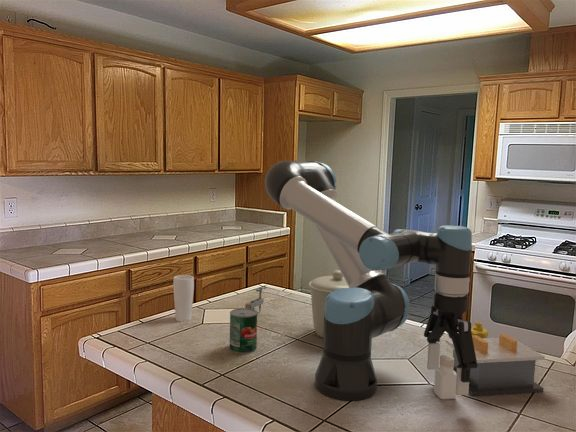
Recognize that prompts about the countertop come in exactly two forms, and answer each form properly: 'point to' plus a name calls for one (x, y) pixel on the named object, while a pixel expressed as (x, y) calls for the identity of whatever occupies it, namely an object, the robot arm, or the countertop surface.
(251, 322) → the canned tomato
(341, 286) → the canister
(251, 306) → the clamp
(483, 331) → the pressure relief valve
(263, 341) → the countertop surface
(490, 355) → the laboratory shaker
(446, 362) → the pepper shaker
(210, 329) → the countertop surface
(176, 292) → the drinking glass
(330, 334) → the robot arm
